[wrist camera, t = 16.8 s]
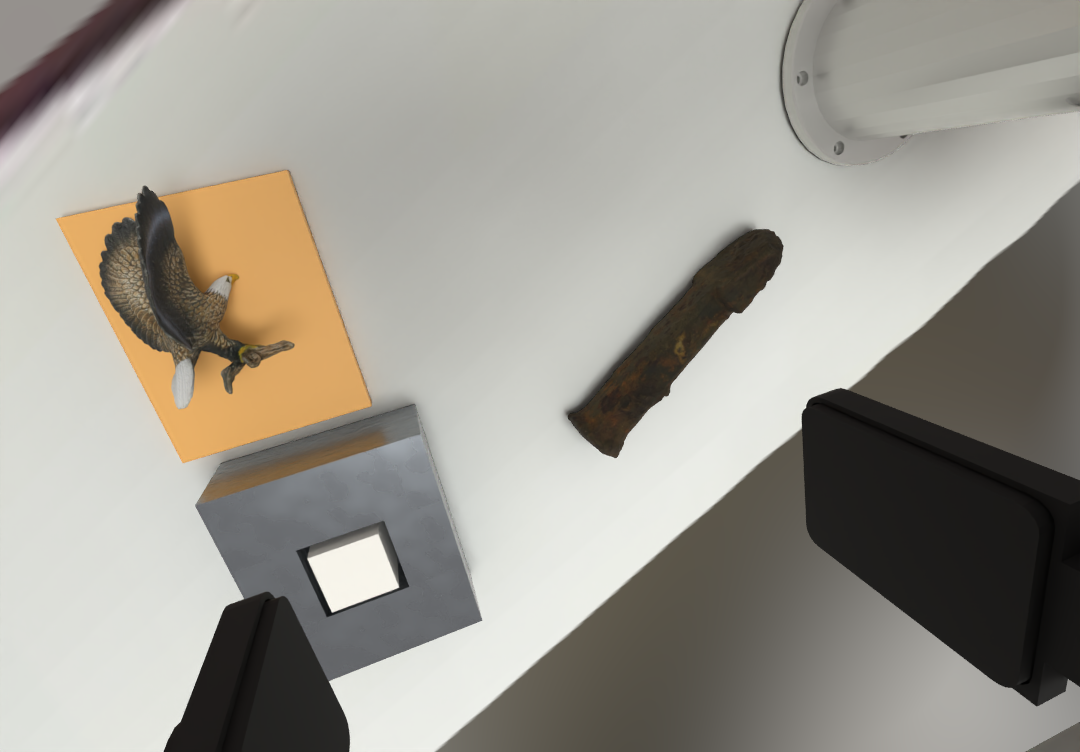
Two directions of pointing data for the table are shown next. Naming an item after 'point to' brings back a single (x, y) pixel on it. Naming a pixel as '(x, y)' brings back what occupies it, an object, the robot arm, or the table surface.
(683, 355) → the hand tool
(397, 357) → the table surface
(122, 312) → the eagle figurine
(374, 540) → the button
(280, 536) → the breaker box
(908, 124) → the robot arm
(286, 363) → the pad
